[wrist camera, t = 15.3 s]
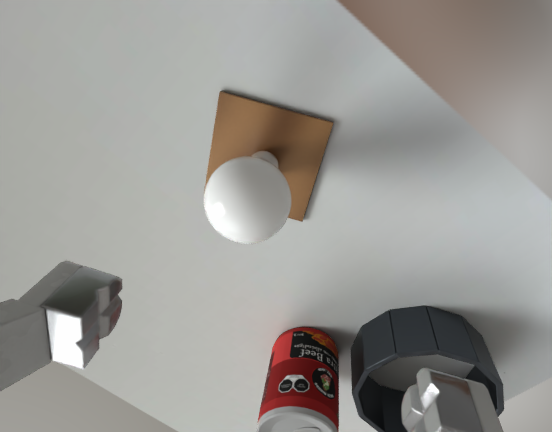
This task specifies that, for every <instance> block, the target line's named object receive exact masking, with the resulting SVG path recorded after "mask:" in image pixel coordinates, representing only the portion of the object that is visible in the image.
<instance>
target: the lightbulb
mask: <svg viewBox="0 0 552 432" xmlns="http://www.w3.org/2000/svg"><path fill="white" fill-rule="evenodd" d="M278 166H279V165H278V161H277V159H276V157H275V156H274V155H273V154H272V153H270V152H267V151H258V152H256V153H254V154H253V155H252V156H243V157H237V158H234V159H231V160H229V161H227V162H225V163H223V164H222V165H221V166H219V167H218V168H217V169H216V170H215V171H214V172H213V174H212V175H211V177H210V178H209V180H208V182H207V185H206V188H205V192H204V208H205V212H206V215H207V218H208V220H209V222H210V223H211V225H212V226H213V227H214V229H215V230H216V231H217V232H218V233H219V234H221V235H222V236H223V237H225V238H227V239H229V240H231V241H234V242H237V243H242V244H253V243H259V242H262V241H265V240H267V239H269V238H270V237H272V236H273V235H275V234H276V233H277V232H278V231H279V230H280V229H281V228H282V227H283V225H284V224H285V222H286V220H287V218H288V216H289V213H290V209H291V191H290V187H289V184H288V182H287V180H286V178H285V176H284V175H283V174H282V172H281V171H280V170H279V169H278Z"/></svg>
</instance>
